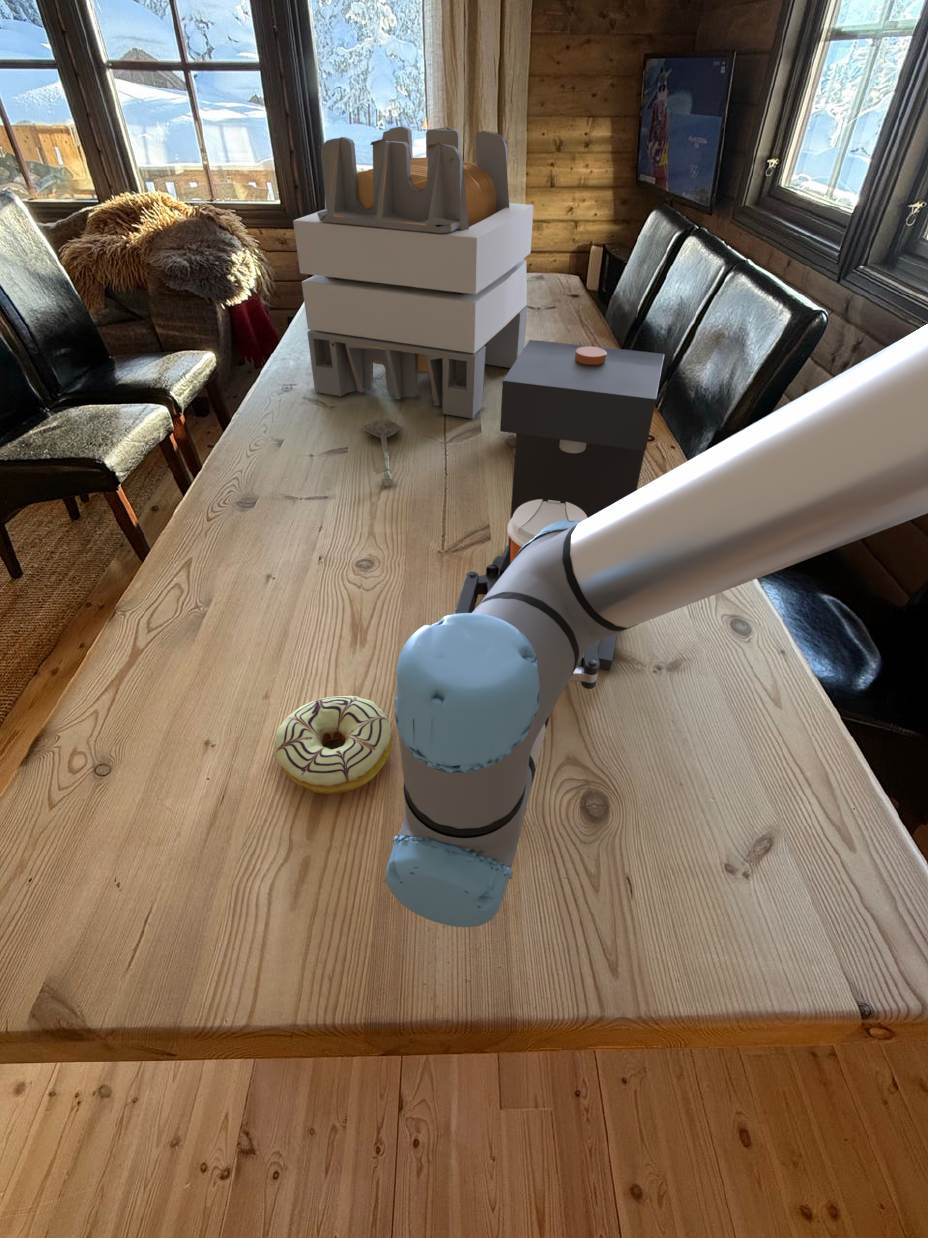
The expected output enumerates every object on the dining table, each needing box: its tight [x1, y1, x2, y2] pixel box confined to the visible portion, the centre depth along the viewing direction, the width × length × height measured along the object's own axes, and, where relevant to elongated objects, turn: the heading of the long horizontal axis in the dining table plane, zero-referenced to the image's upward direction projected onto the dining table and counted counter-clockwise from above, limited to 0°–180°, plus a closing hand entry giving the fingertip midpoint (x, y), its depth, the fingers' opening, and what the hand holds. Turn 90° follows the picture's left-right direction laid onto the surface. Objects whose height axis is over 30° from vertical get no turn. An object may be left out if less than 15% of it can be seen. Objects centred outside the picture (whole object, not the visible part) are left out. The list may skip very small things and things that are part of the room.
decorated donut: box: [273, 695, 393, 795], centre depth 62 cm, size 10×11×4 cm
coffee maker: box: [499, 339, 665, 671], centre depth 71 cm, size 18×16×29 cm
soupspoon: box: [362, 419, 402, 487], centre depth 109 cm, size 22×3×7 cm
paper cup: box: [506, 499, 588, 563], centre depth 64 cm, size 8×8×14 cm
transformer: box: [292, 125, 534, 420], centre depth 122 cm, size 34×33×41 cm
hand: (552, 551), depth 67 cm, fingers closed on paper cup, 7 cm apart
